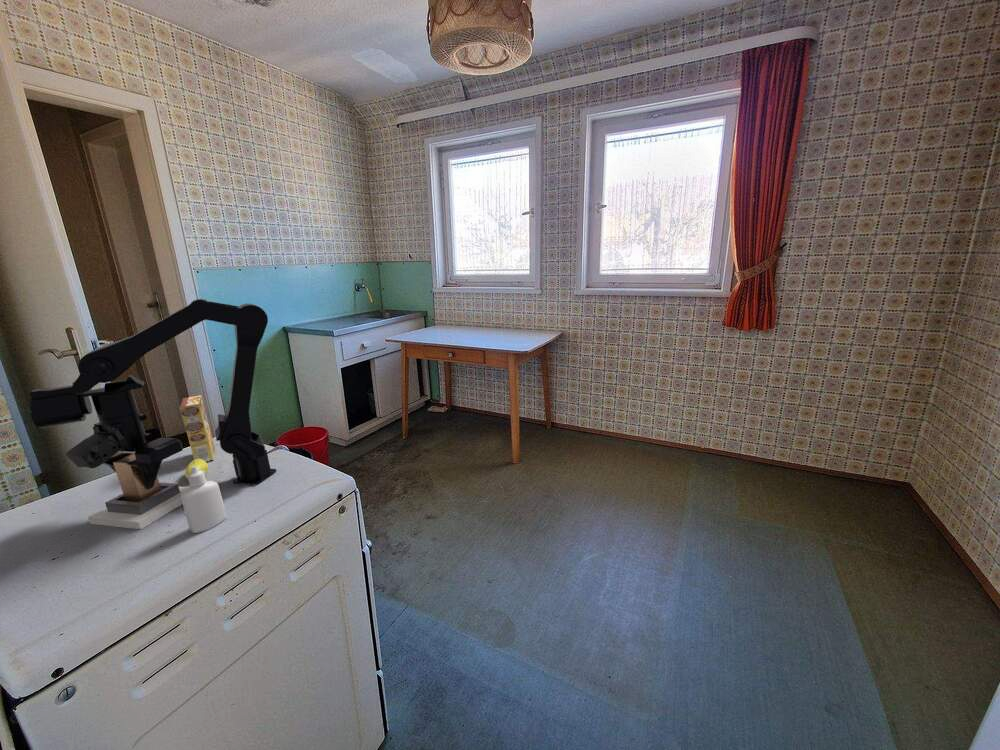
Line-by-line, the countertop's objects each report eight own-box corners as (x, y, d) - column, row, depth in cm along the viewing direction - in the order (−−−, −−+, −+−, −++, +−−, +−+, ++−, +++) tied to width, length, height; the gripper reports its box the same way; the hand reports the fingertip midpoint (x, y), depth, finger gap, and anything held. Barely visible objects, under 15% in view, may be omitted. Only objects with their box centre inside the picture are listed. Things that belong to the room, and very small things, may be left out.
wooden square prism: (162, 493, 84) (150, 453, 81) (142, 505, 80) (129, 463, 78) (146, 492, 85) (134, 452, 82) (126, 503, 81) (113, 462, 78)
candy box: (214, 460, 103) (200, 403, 99) (194, 465, 101) (178, 407, 97) (215, 448, 110) (202, 394, 106) (196, 453, 108) (181, 397, 104)
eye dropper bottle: (192, 523, 77) (176, 466, 74) (227, 514, 80) (213, 458, 76) (188, 536, 73) (171, 476, 70) (225, 525, 76) (211, 467, 73)
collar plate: (198, 494, 87) (194, 479, 86) (140, 529, 76) (135, 512, 75) (152, 490, 90) (148, 476, 89) (90, 523, 78) (84, 507, 77)
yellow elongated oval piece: (182, 486, 91) (177, 470, 90) (193, 470, 98) (189, 456, 97) (204, 482, 93) (200, 466, 92) (213, 466, 100) (209, 452, 99)
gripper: (27, 429, 72) (56, 507, 76) (111, 433, 68) (137, 514, 72) (98, 407, 82) (120, 477, 86) (174, 409, 79) (194, 482, 83)
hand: (141, 487), depth 82 cm, fingers closed on wooden square prism, 4 cm apart
